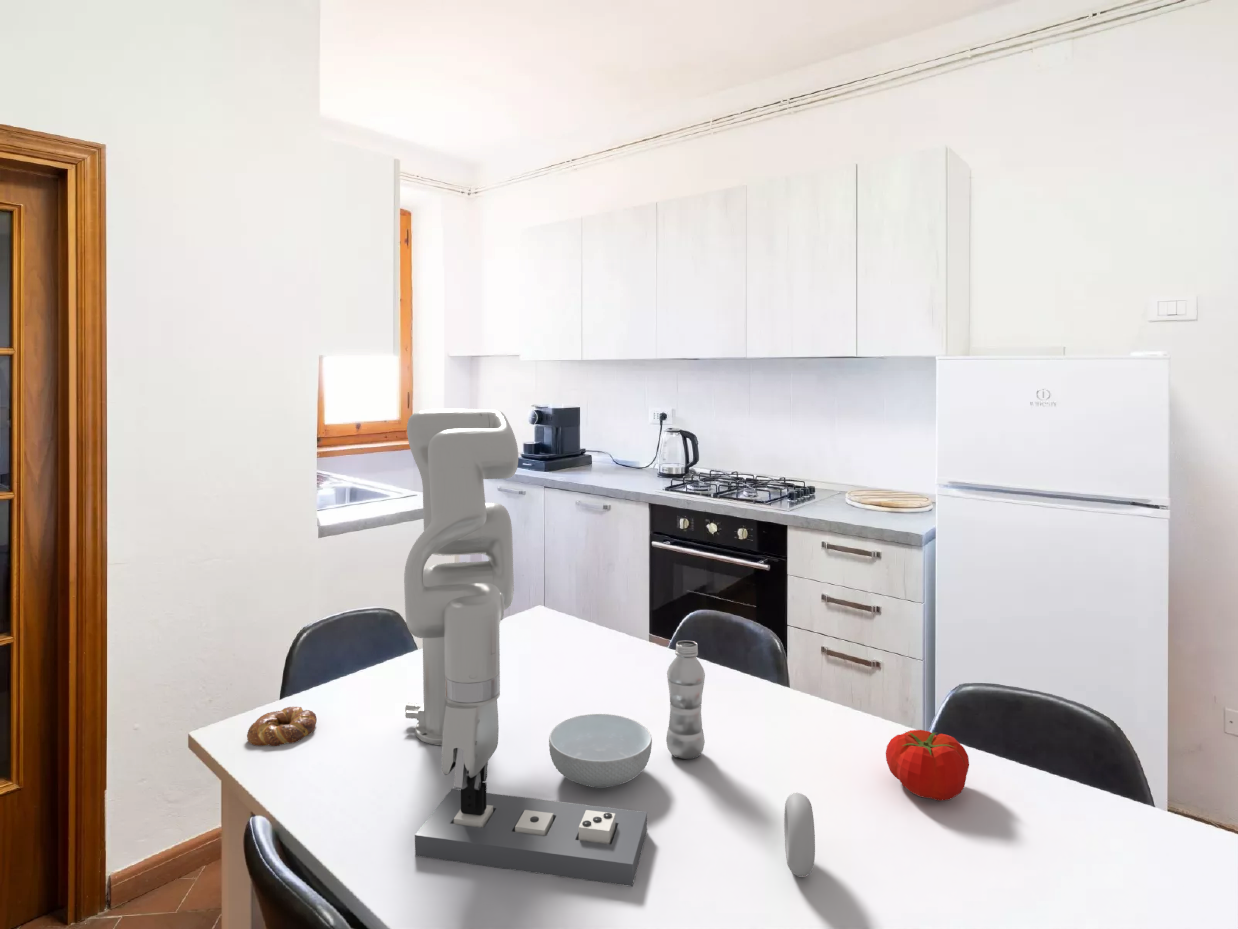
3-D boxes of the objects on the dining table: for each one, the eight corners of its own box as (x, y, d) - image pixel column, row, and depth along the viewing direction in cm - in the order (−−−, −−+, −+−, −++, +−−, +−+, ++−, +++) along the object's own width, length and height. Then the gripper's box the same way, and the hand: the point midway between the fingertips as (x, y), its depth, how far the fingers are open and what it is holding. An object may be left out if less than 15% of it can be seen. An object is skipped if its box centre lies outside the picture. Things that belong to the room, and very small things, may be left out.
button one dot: (515, 843, 100) (515, 825, 100) (524, 825, 104) (524, 808, 104) (544, 847, 99) (544, 829, 99) (553, 829, 104) (553, 812, 103)
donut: (781, 845, 102) (784, 777, 101) (807, 847, 102) (809, 779, 101) (787, 892, 92) (790, 817, 91) (815, 895, 92) (818, 820, 91)
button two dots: (453, 834, 102) (453, 817, 102) (465, 818, 106) (465, 801, 106) (482, 838, 101) (482, 821, 101) (493, 821, 105) (493, 804, 105)
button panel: (415, 855, 99) (414, 835, 99) (451, 807, 111) (451, 788, 110) (632, 886, 93) (632, 864, 93) (646, 832, 105) (647, 812, 105)
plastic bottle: (702, 765, 124) (705, 651, 122) (663, 761, 125) (665, 648, 124) (705, 748, 130) (708, 639, 129) (668, 744, 132) (670, 636, 130)
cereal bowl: (573, 814, 109) (574, 769, 109) (534, 764, 124) (534, 724, 123) (670, 787, 117) (671, 745, 117) (622, 743, 132) (622, 706, 131)
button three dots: (578, 843, 98) (578, 826, 98) (585, 826, 103) (586, 808, 102) (609, 847, 98) (609, 829, 97) (615, 829, 102) (615, 812, 101)
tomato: (904, 760, 127) (907, 711, 126) (980, 788, 118) (983, 736, 117) (867, 789, 117) (869, 737, 116) (947, 822, 108) (950, 766, 107)
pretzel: (256, 757, 126) (255, 736, 126) (239, 734, 135) (238, 715, 134) (326, 735, 134) (325, 716, 134) (306, 715, 142) (306, 697, 142)
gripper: (468, 665, 110) (469, 781, 111) (423, 705, 95) (425, 839, 97) (515, 668, 108) (516, 787, 110) (477, 710, 94) (478, 846, 95)
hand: (473, 811), depth 103 cm, fingers closed
